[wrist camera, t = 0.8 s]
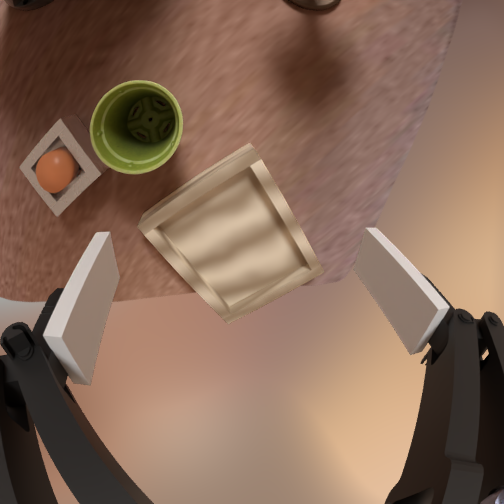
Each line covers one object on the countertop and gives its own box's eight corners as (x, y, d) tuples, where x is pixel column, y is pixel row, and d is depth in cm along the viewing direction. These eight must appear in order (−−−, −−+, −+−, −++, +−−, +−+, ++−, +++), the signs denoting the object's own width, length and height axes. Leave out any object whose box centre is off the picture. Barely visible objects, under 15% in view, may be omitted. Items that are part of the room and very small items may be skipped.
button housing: (35, 158, 29) (19, 167, 25) (75, 114, 27) (60, 118, 23) (70, 203, 33) (57, 217, 29) (112, 164, 32) (101, 174, 28)
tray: (142, 213, 36) (136, 226, 33) (249, 142, 34) (254, 148, 30) (226, 307, 47) (228, 324, 44) (315, 257, 44) (324, 272, 41)
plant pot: (165, 168, 34) (154, 190, 26) (103, 137, 30) (76, 152, 22) (203, 104, 30) (202, 106, 23) (137, 72, 26) (117, 65, 19)
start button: (41, 164, 27) (29, 171, 24) (64, 138, 26) (52, 143, 24) (62, 192, 30) (52, 200, 27) (85, 168, 29) (76, 175, 26)
